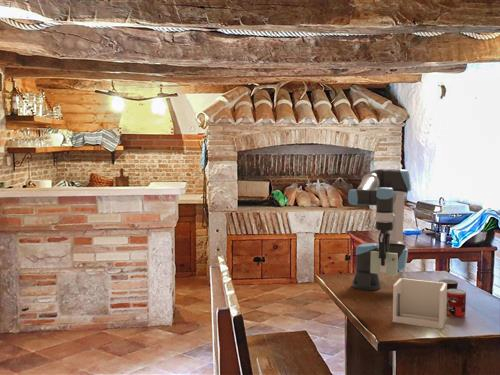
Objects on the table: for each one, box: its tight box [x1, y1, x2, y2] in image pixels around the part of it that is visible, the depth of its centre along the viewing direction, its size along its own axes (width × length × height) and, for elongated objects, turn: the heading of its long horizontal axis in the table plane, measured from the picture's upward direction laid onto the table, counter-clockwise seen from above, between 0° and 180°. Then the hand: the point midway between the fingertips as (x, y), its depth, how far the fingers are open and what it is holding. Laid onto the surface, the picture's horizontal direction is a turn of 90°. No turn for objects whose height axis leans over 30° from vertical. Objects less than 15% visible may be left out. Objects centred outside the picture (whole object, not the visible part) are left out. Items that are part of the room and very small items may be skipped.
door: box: [370, 251, 399, 277], centre depth 241 cm, size 12×3×10 cm, turn 63°
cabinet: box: [392, 277, 447, 330], centre depth 225 cm, size 20×14×16 cm
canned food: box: [446, 288, 467, 319], centre depth 233 cm, size 8×8×11 cm
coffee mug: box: [438, 278, 459, 290], centre depth 255 cm, size 12×9×10 cm
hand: (383, 271), depth 242 cm, fingers closed on door, 2 cm apart
